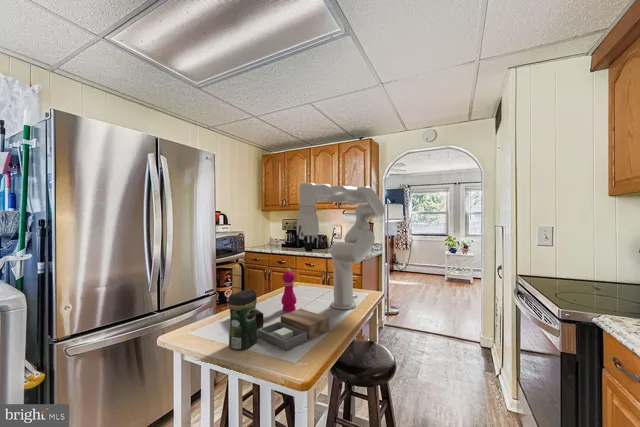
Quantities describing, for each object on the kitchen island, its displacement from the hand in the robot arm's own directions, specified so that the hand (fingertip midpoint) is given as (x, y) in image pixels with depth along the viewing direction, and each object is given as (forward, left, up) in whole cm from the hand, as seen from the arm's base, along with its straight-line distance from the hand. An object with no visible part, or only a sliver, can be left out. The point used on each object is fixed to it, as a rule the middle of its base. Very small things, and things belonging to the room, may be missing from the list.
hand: (308, 251), depth 120 cm
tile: (+22, +8, -26) cm, 35 cm away
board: (+11, +8, -29) cm, 32 cm away
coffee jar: (+34, +1, -29) cm, 45 cm away
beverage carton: (+22, -16, -30) cm, 40 cm away
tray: (+23, +8, -29) cm, 38 cm away
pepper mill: (0, -14, -29) cm, 32 cm away
